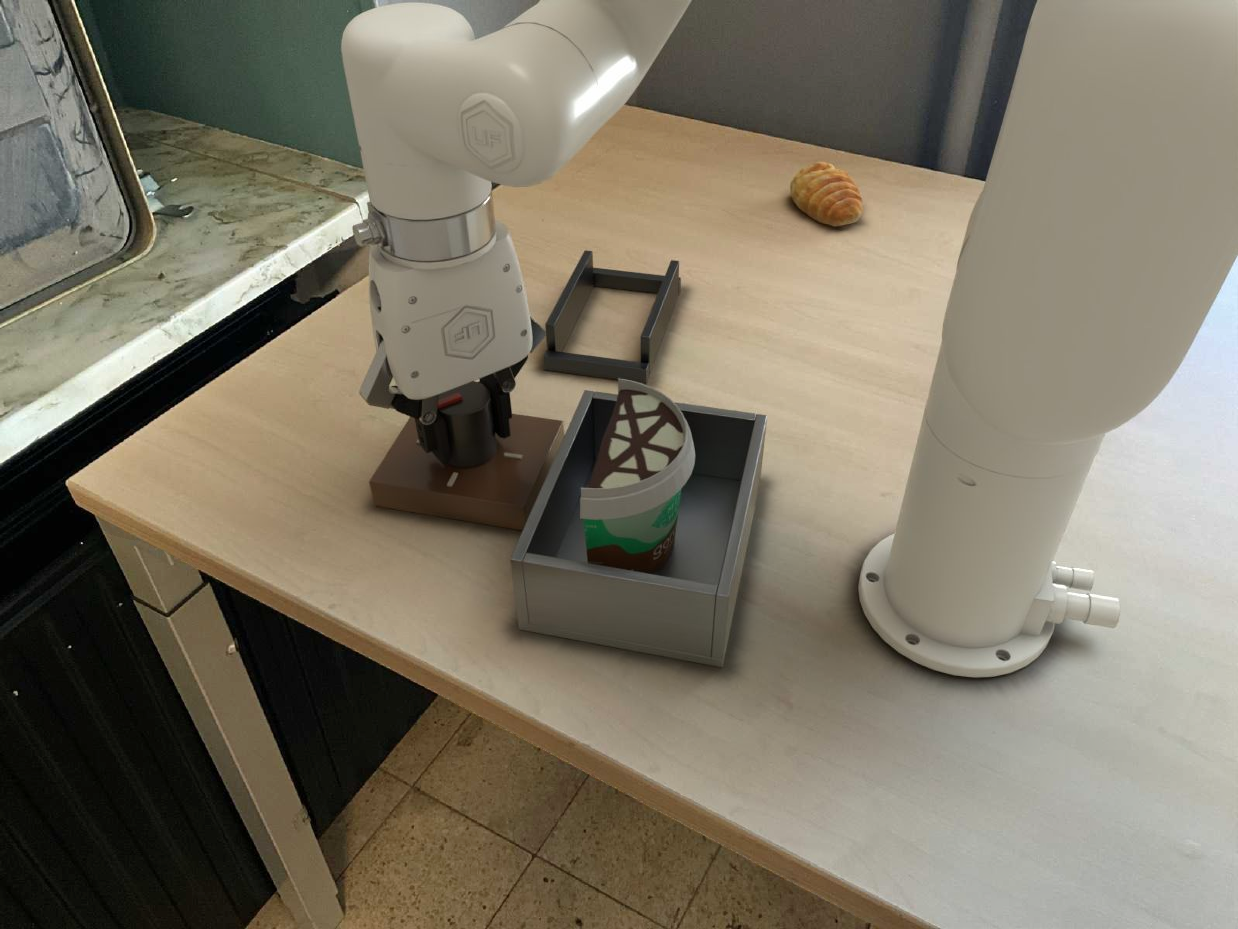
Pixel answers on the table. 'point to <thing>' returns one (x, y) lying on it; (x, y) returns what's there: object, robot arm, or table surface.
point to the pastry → (827, 194)
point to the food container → (637, 481)
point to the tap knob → (468, 424)
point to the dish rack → (574, 303)
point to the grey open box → (694, 573)
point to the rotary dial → (471, 476)
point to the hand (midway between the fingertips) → (467, 438)
